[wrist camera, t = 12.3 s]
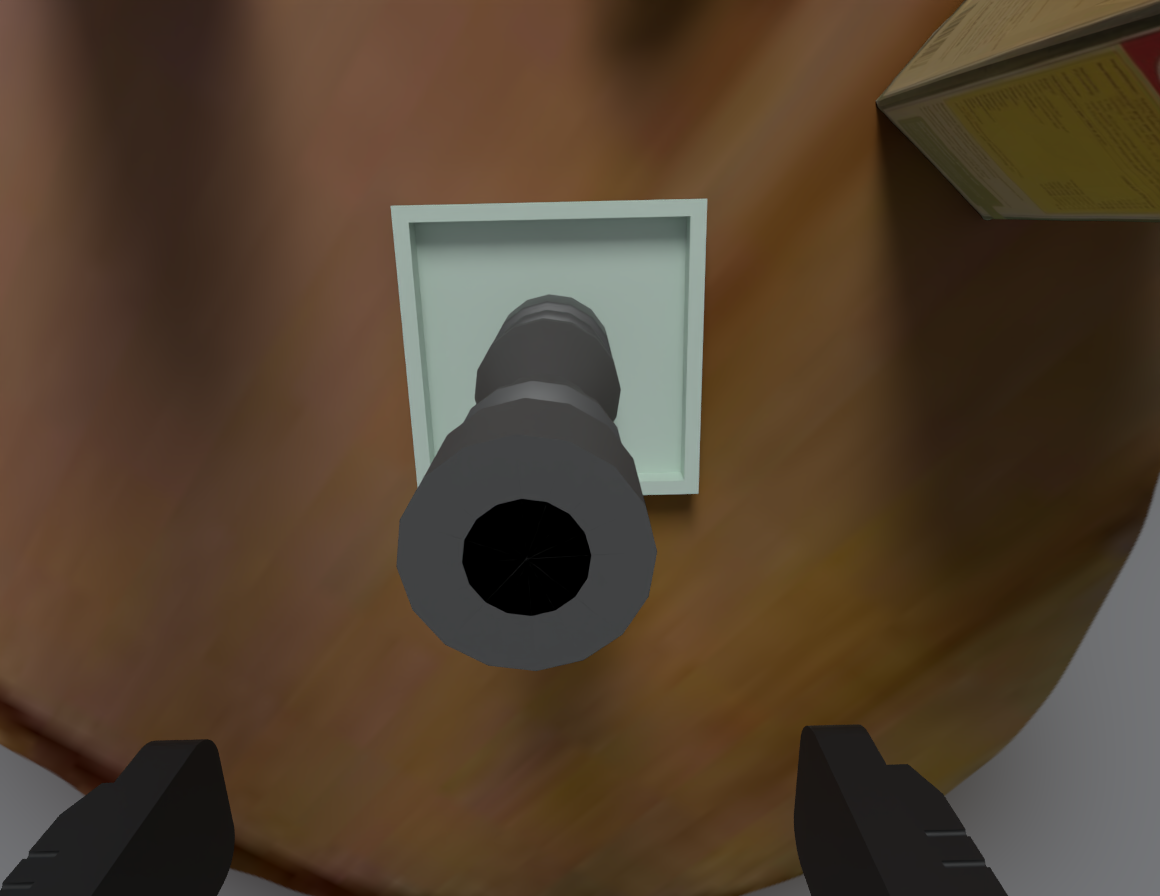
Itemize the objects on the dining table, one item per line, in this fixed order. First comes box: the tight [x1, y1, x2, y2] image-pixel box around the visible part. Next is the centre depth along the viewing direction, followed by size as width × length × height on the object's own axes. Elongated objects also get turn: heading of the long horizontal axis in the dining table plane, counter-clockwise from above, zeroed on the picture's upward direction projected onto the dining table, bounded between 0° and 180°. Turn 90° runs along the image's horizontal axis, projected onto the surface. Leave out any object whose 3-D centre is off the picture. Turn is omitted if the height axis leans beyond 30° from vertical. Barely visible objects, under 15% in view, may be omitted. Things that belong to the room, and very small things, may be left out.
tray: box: [391, 199, 707, 495], centre depth 39 cm, size 16×16×2 cm
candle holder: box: [397, 294, 657, 671], centre depth 28 cm, size 6×6×25 cm
